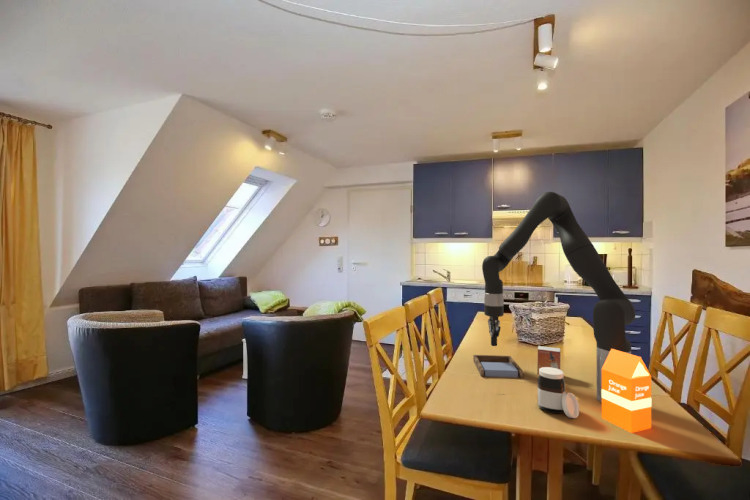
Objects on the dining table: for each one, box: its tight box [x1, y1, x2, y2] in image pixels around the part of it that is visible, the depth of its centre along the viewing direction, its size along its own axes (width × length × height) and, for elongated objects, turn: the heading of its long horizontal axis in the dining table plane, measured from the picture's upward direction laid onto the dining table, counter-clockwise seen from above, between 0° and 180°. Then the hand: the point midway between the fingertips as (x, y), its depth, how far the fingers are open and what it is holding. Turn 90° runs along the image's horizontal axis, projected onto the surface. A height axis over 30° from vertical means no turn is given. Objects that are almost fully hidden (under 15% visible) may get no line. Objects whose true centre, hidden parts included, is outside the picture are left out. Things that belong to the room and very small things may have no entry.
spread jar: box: [537, 367, 580, 419], centre depth 108 cm, size 12×11×12 cm
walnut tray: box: [473, 354, 524, 379], centre depth 142 cm, size 18×15×4 cm
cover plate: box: [481, 362, 518, 378], centre depth 138 cm, size 9×12×2 cm
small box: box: [536, 345, 561, 375], centre depth 137 cm, size 8×6×10 cm
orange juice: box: [601, 349, 653, 434], centre depth 100 cm, size 8×9×20 cm
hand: (493, 345), depth 146 cm, fingers closed
